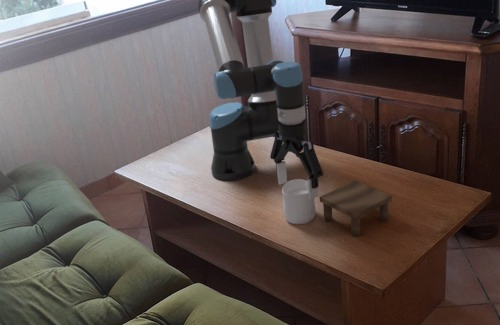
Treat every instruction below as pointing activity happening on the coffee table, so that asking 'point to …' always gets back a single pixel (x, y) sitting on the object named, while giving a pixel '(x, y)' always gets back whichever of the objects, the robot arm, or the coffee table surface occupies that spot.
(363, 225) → the coffee table surface
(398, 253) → the coffee table surface
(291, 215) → the cup
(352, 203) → the footstool
